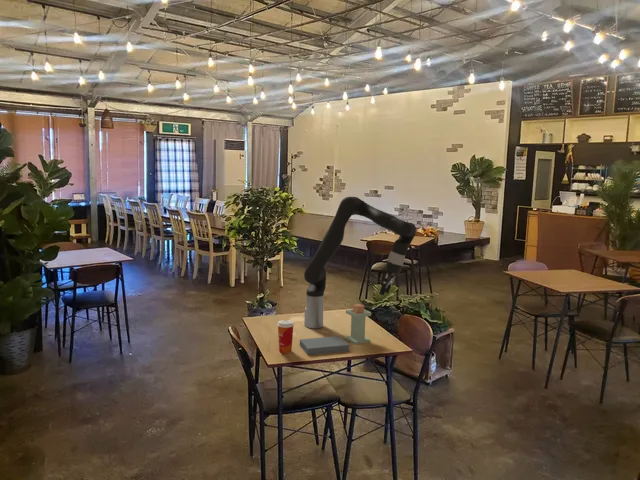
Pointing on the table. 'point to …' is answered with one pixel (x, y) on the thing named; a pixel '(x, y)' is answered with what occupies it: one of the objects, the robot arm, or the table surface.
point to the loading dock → (324, 345)
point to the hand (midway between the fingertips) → (383, 293)
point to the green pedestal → (358, 327)
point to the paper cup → (285, 336)
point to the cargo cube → (358, 308)
